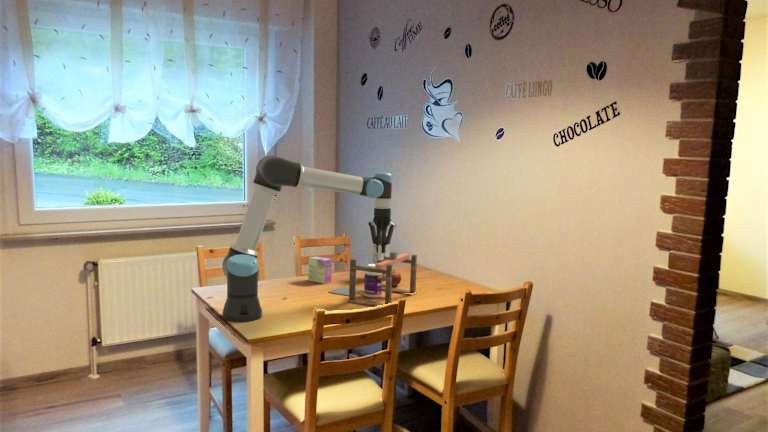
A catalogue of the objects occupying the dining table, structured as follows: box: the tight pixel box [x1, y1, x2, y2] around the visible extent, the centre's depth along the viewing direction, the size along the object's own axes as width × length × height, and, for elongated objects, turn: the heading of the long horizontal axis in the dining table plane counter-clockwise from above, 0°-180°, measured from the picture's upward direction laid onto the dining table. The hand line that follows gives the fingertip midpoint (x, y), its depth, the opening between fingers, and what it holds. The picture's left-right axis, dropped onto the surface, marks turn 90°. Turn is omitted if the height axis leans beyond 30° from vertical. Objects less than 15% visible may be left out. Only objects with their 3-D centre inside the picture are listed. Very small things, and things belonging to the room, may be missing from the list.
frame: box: [347, 254, 418, 307], centre depth 260 cm, size 30×20×18 cm, turn 154°
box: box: [307, 255, 333, 285], centre depth 287 cm, size 10×6×12 cm, turn 58°
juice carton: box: [372, 233, 390, 281], centre depth 297 cm, size 9×8×24 cm
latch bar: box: [375, 251, 411, 270], centre depth 257 cm, size 29×3×5 cm, turn 154°
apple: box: [384, 270, 402, 287], centre depth 284 cm, size 8×8×8 cm
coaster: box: [328, 286, 364, 297], centre depth 270 cm, size 12×12×1 cm
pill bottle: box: [363, 263, 383, 299], centre depth 263 cm, size 8×8×14 cm
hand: (380, 259), depth 260 cm, fingers closed
